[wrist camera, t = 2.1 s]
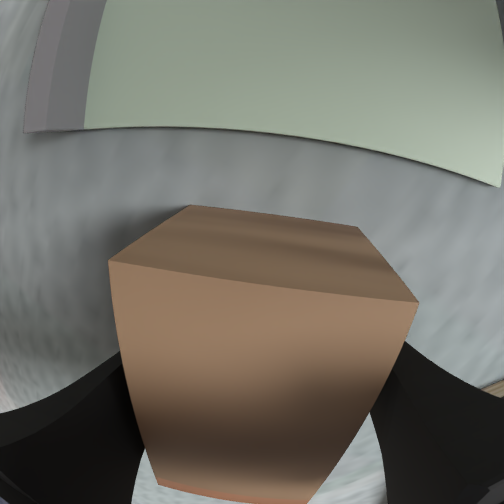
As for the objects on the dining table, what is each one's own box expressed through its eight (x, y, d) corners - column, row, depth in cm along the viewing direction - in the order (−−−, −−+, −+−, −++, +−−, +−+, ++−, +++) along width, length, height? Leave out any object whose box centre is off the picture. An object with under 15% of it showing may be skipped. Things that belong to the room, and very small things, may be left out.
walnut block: (190, 204, 9) (108, 260, 5) (357, 226, 9) (419, 302, 4) (189, 398, 13) (158, 484, 8) (303, 414, 12) (304, 506, 7)
